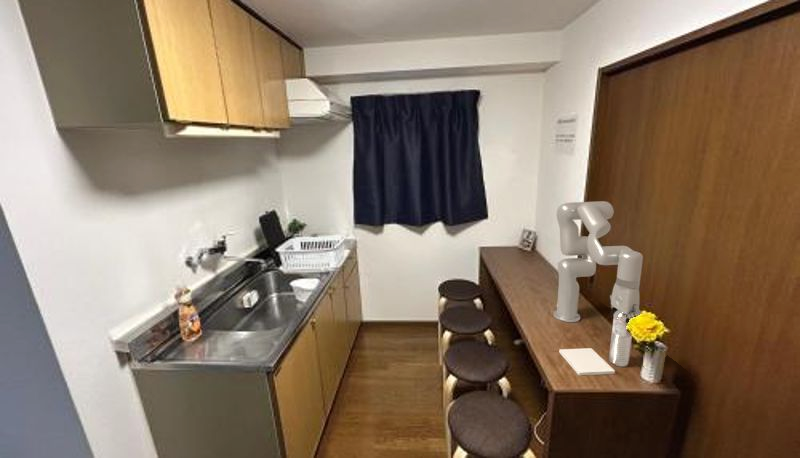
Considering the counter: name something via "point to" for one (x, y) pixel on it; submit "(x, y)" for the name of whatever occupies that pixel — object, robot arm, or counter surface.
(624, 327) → the water bottle
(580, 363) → the board
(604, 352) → the counter surface
